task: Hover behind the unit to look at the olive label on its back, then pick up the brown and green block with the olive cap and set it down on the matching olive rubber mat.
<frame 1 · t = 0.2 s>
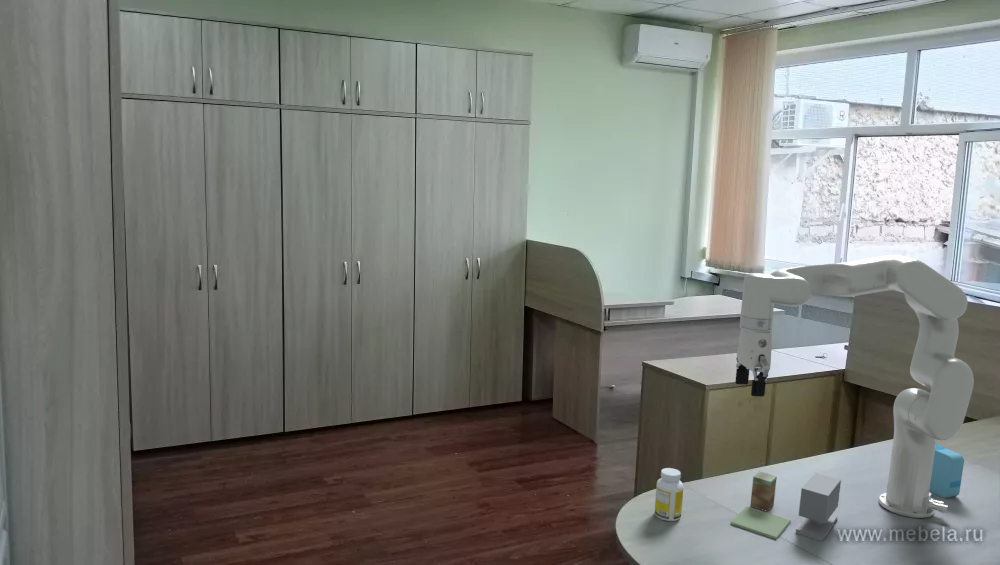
hand: (749, 389, 185), 31 cm above the table, tool pointing down, fingers open, 9 cm apart
pill bottle: (667, 516, 182), on the table
data package: (933, 490, 203), on the table
brown and green block: (762, 505, 189), on the table
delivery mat: (760, 523, 180), on the table
mounted unit: (816, 526, 179), on the table
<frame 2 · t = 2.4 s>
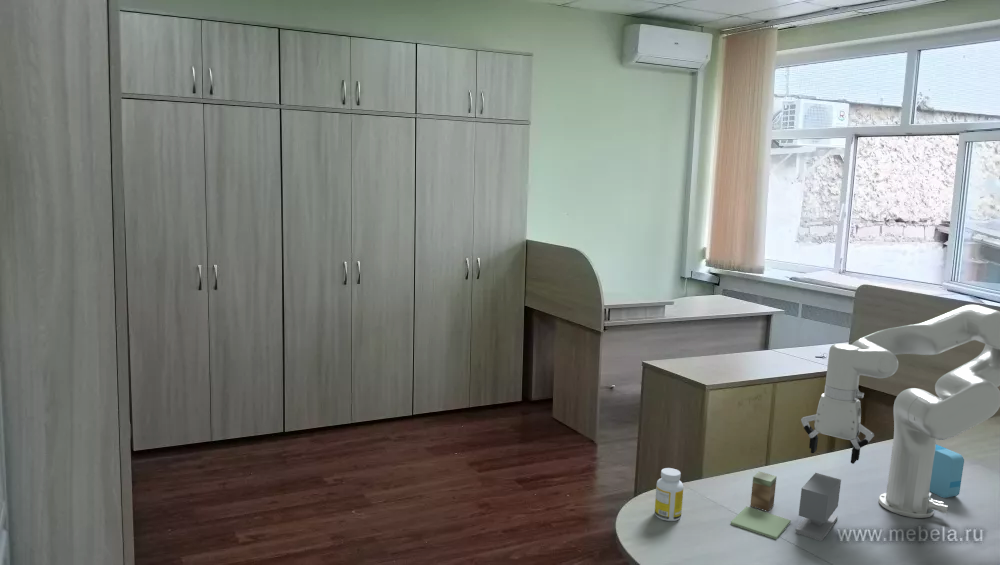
hand: (833, 456, 189), 13 cm above the table, tool pointing down, fingers open, 9 cm apart
nothing on the table moved.
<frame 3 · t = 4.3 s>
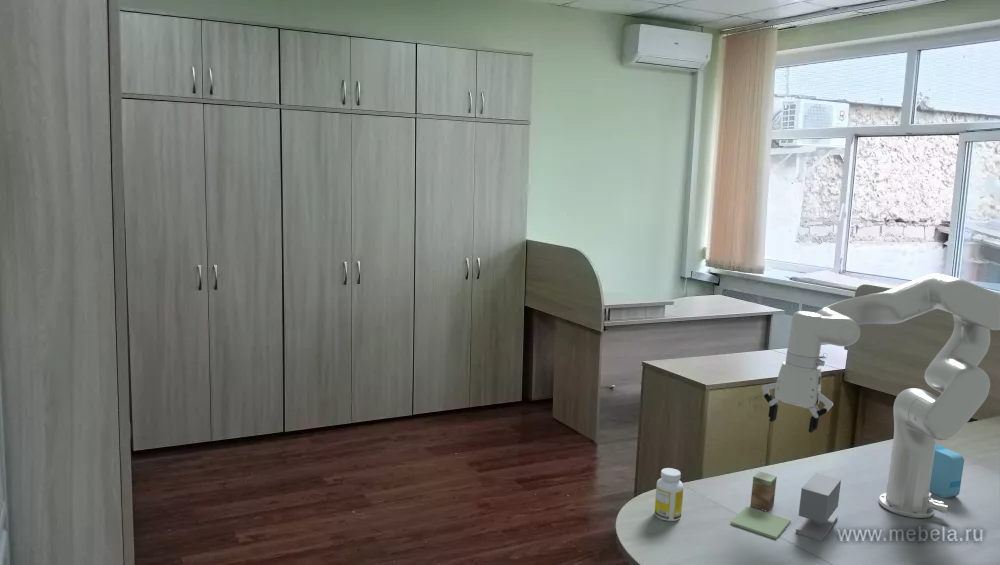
hand: (791, 425, 186), 22 cm above the table, tool pointing down, fingers open, 9 cm apart
nothing on the table moved.
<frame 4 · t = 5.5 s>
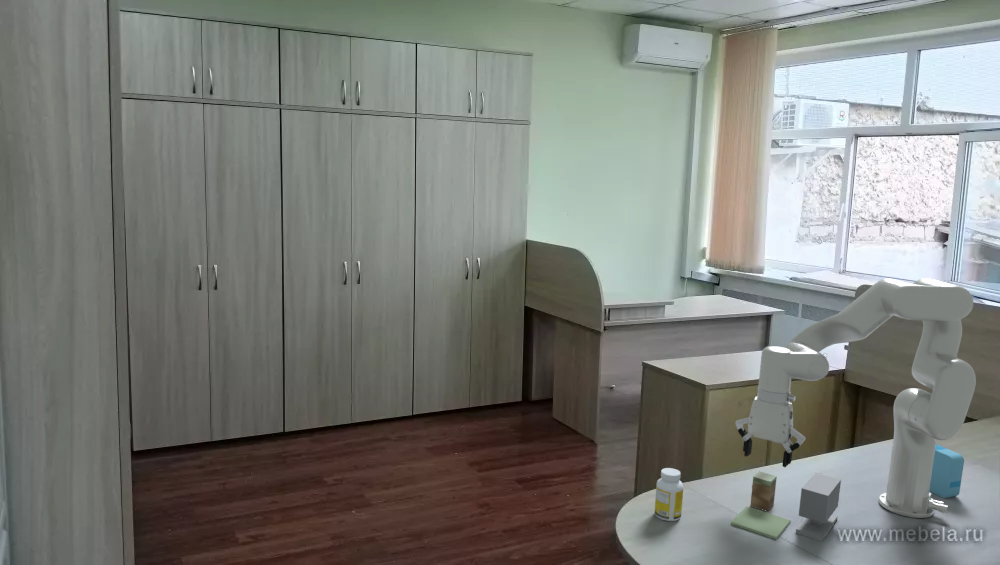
hand: (766, 460, 187), 12 cm above the table, tool pointing down, fingers open, 9 cm apart
nothing on the table moved.
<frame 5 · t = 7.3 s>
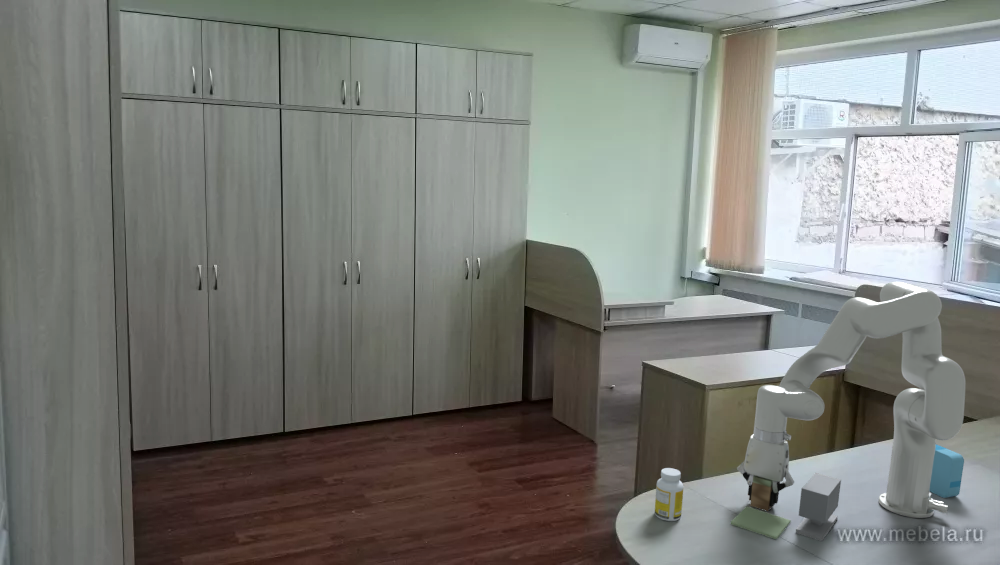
hand: (762, 501, 189), 1 cm above the table, tool pointing down, fingers closed on brown and green block, 4 cm apart
brown and green block: (761, 505, 189), on the table, touching gripper
everything else where it was.
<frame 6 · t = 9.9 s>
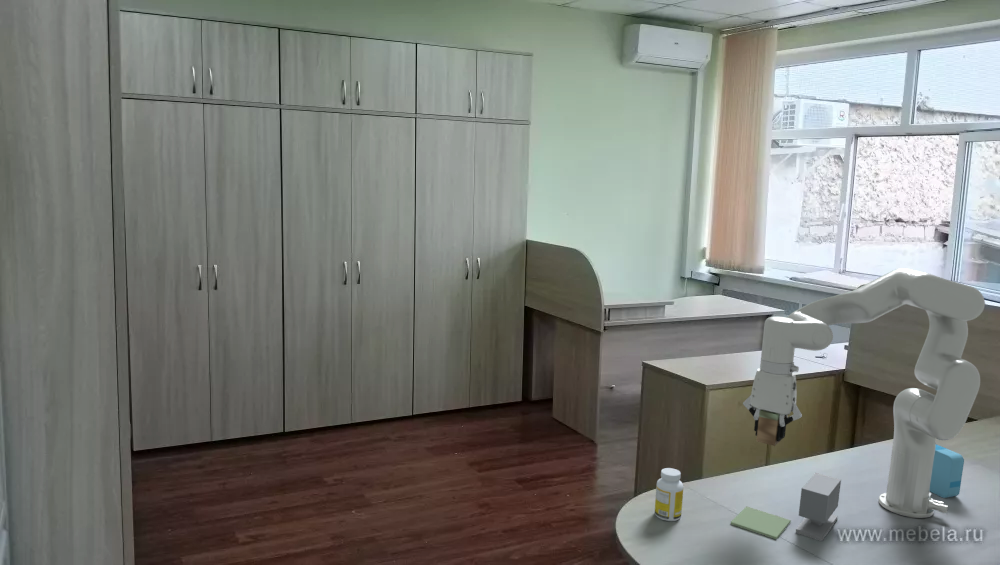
hand: (769, 436, 184), 19 cm above the table, tool pointing down, fingers closed on brown and green block, 4 cm apart
brown and green block: (768, 441, 185), point 18 cm above the table, touching gripper
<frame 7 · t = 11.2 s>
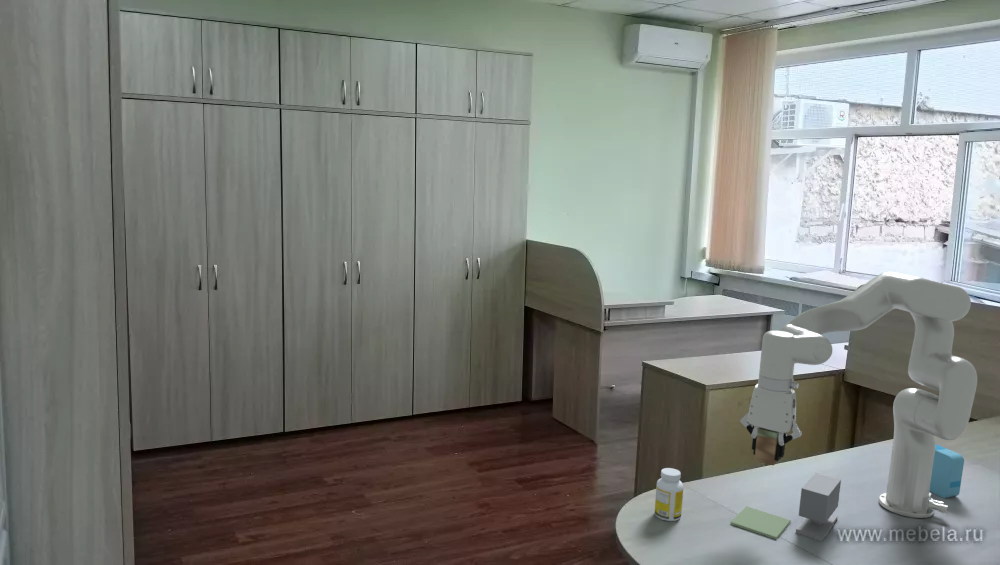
hand: (767, 455, 177), 18 cm above the table, tool pointing down, fingers closed on brown and green block, 4 cm apart
brown and green block: (766, 460, 177), point 16 cm above the table, touching gripper
when the fingers open (3 cm above the table, at t = 14.0 s): brown and green block drops 1 cm, resting on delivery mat.
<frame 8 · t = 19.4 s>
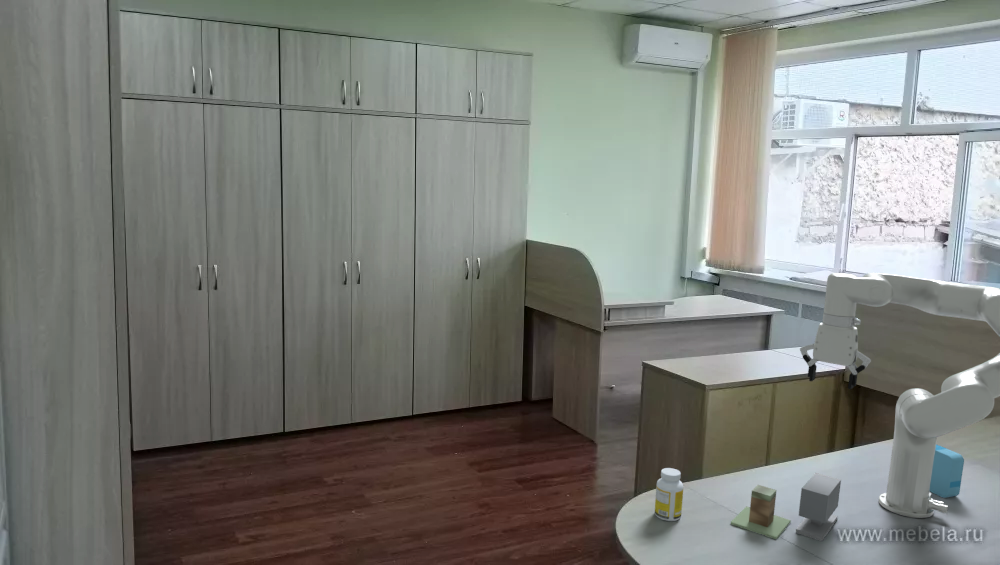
hand: (831, 384, 194), 30 cm above the table, tool pointing down, fingers open, 9 cm apart
brown and green block: (761, 521, 180), point 1 cm above the table, touching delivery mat
at the end: brown and green block inside the target area on the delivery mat (0.0 cm from its centre), point 0.6 cm above the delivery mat's base; brown and green block tilted 0°; the gripper is holding nothing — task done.
